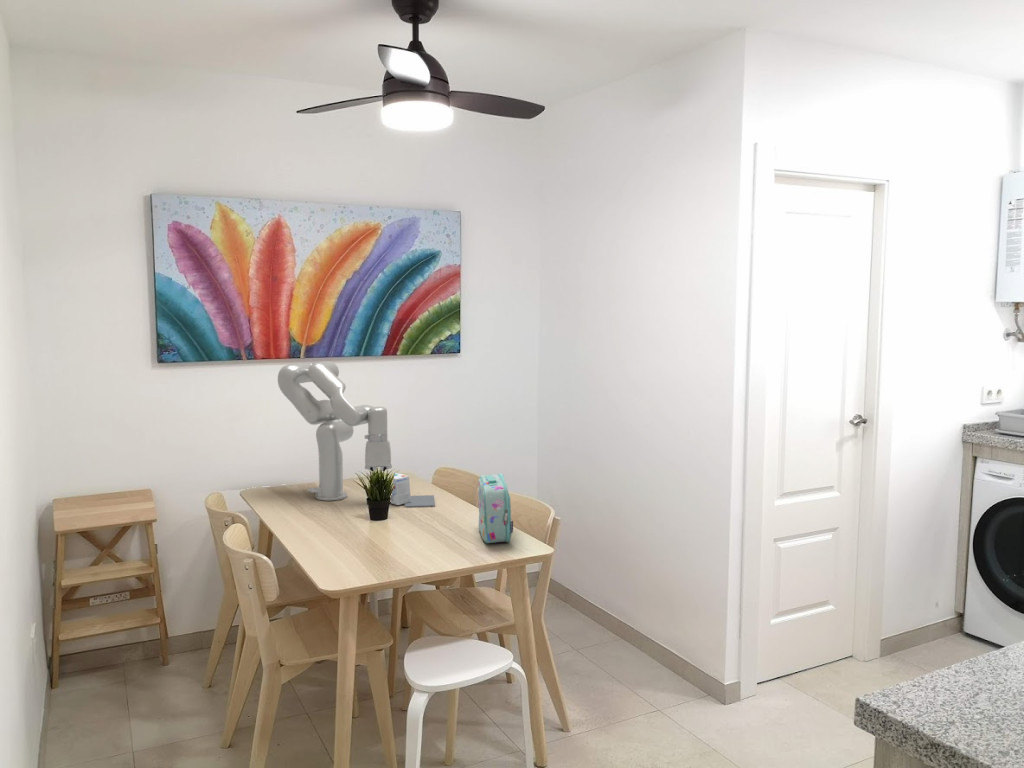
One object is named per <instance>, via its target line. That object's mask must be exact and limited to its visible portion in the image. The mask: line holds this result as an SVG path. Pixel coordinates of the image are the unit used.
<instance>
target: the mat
mask: <svg viewBox="0 0 1024 768" xmlns="http://www.w3.org/2000/svg"><path fill="white" fill-rule="evenodd" d="M410 497H411V502H408V503H404V508H405V507H407V508H429V507H428V506H435V507H436V501H435V495H434V494H431V495H430V494H428V495H410Z"/></svg>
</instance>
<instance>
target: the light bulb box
mask: <svg viewBox="0 0 1024 768" xmlns="http://www.w3.org/2000/svg"><path fill="white" fill-rule="evenodd" d="M394 473H395V475H394V479H393V485H394V488H393V491H392V495H391V503H390V504H393V505H396V506H401V505H405V503H408V502H411V497H410V496H411V486H410V485H411V484H410V475H406V474H402V473H398V472H394Z"/></svg>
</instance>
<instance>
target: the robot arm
mask: <svg viewBox="0 0 1024 768" xmlns="http://www.w3.org/2000/svg"><path fill="white" fill-rule="evenodd" d="M339 374H340V370H339V367H338V365H337V364H336V363H335V362H333V361H329V360H327V361H305V362H295V363H289V364H286V365H283V366H282V367H281V368H280V370H279V371H278V374H277V386H278V388H279V390H280V391H281V393H282V394H283V395H284V397H285V398H286V399H287V400H288V401H289V402H290V403H291V404H292V406H293V407H294V408H295V409H296V411H298V413H299V414H300V415H301V416H302V417H303V419H304V420H305V421H306V422H307V423H308V424H309V425H313V426H315V425H318V426H317V429H316V431H315V438H316V443H317V449H318V478H319V479H318V483H319V484H318V486H316V487H308V490H307V491H308V492H307V493H310V494H315V499H316V498H317V500H320V501H327V502H328V501H339V500H343V499H345V498H347V497H348V493H347V492H346V491H344V473H343V472H344V468H343V464H344V463H343V461H344V460H343V450H342V448H341V445H340V443H342V442H345V441H348V440H349V439H351V438H352V437H353V434H354V427H357V426H360V425H365V424H367V427H368V429H367V430H368V431H367V433H368V434H366V435H364V439H365V440H367V441H366V443H365V449H364V450H365V452H364V453H365V455H364V464H365V465H364V469H365V470H369V471H370V472H372V471H374V470H377V471H378V469H377V468H379V471H380V470H382V471H384V472H385V471H386V470H389V469H392V467H393V466H392V451H391V444H390V443H391V442H390V440H388V410H387V408H386V407H384V406H372V405H368V404H363V405H362V404H361V405H357V406H353V405H351V403H349V402H348V400H346V398H345V397H344V393H345V391H346V388H347V387H346V383H345V382H344V381H342V379H340V378H339ZM304 383H313V384H314V385H315V386H316V387H317V388H318V389H319V390H320V391H321V392H322V393H323V394H324V395H325V396H326V397H327V398H328V399H322V400H320V399H319V400H318V399H316V397H315V396H314V395H313V394H312V392H310V390H309V389H308V388H305V387H304V386H303V385H302V384H304Z"/></svg>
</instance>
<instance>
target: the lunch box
mask: <svg viewBox="0 0 1024 768" xmlns="http://www.w3.org/2000/svg"><path fill="white" fill-rule="evenodd" d="M477 485H478V512H479V513H478V530H479V533H480V535H481V538H482V540H483V541H484V543H486V544H495V543H505V542H506V543H509V542H511V537H512V533H513V532H514V520H512V507H511V495H510V494H509V488H508V484H507V483H506V481H505V476H504V474H503V473H497V474H485V475H480V476H479V478H478V484H477Z"/></svg>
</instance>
